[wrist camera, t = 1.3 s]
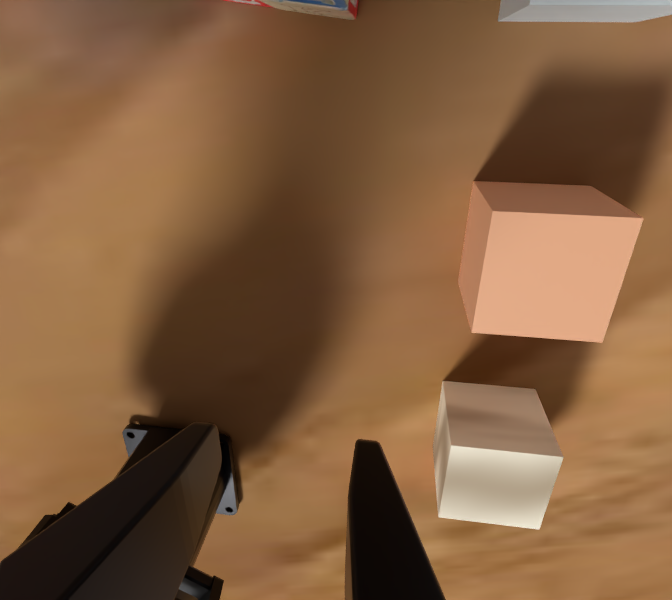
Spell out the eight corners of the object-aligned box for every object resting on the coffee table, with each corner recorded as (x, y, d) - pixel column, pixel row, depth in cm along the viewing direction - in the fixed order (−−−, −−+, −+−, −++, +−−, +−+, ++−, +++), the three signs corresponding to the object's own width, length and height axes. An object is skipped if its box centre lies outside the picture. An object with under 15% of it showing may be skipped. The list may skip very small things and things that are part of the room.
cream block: (516, 454, 24) (539, 529, 20) (432, 445, 25) (438, 517, 21) (535, 388, 22) (563, 457, 18) (442, 379, 23) (451, 445, 19)
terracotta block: (562, 288, 20) (602, 342, 16) (457, 281, 20) (471, 332, 16) (589, 185, 18) (643, 218, 14) (472, 180, 18) (492, 211, 14)
